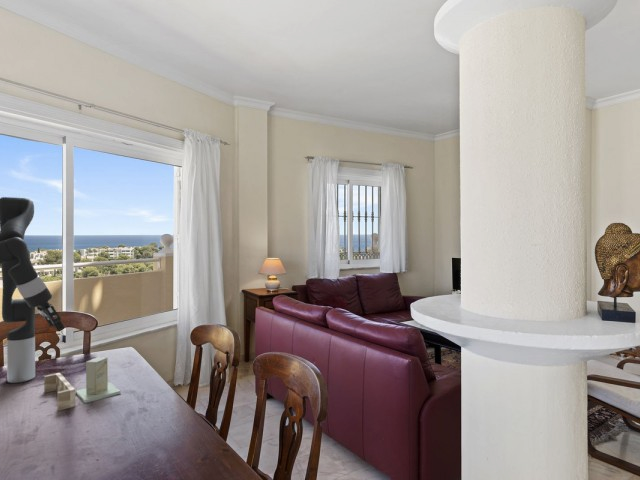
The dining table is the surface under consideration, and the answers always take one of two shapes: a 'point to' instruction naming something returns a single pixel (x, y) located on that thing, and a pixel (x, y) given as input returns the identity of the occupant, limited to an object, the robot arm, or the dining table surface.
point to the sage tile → (92, 397)
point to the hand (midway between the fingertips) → (57, 327)
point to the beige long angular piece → (60, 390)
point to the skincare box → (96, 375)
